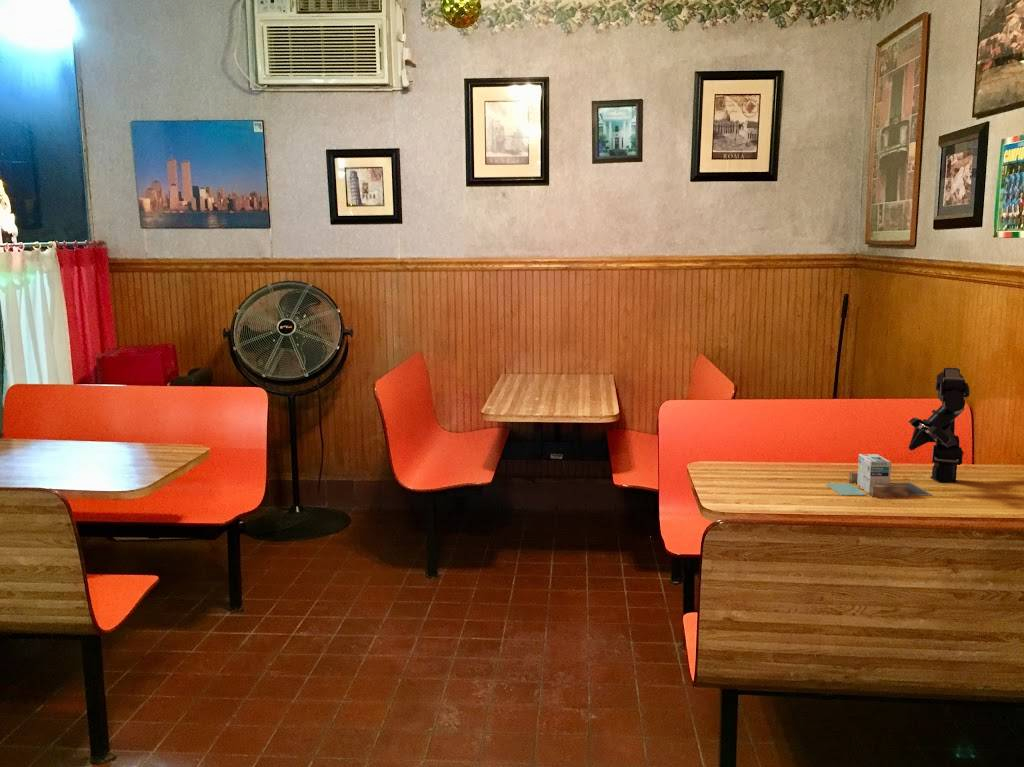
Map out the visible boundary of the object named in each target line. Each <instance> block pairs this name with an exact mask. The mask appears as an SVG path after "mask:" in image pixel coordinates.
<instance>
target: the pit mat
mask: <svg viewBox="0 0 1024 767" xmlns="http://www.w3.org/2000/svg"><path fill="white" fill-rule="evenodd" d="M890 485H906V486H908V494H907V496H933V493H930V492H929V491H926V490H925V489H923V488H921V487H919V486H918V485H916V484H914V483H912V482H890Z"/></svg>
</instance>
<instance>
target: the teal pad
mask: <svg viewBox="0 0 1024 767" xmlns="http://www.w3.org/2000/svg"><path fill="white" fill-rule="evenodd" d="M825 484H826V486H827V485H828V486H829V487H828V486H827V487H828V488H830V489H831V488H832V490H833V491H834V492H835V491H836V492H835V493H837V494H838V495H840V496H842V497H844V495H847V496H848V495H856V496H867V493H865V492H863V491H861V490H860V489H859V488H857V487H855V486H854V485H853V484H851V483H849V482H847V483H846V482H845V483H843V482H842V483H839V482H838V483H830V482H829V483H825Z"/></svg>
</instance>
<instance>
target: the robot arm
mask: <svg viewBox="0 0 1024 767" xmlns="http://www.w3.org/2000/svg"><path fill="white" fill-rule="evenodd" d="M935 391H937V393H936V394H937V396H936V397H937V398H938V400H939V401H940V402H941V405H940V406H939V407H938V408H937V409H936V410H935V409H933V410H931V413H932V414H931V415H930V416H929V417H928V418H927V419H926V418H924V419H921V418H918V417H912V418H910V420H909V421H908V423H909V424H910V426H912V427H913V433H912V436H911V440H910V443H909V445H908V450H910V451H914V450H916V449H918V448H919V447H922V446H923V445H925V444H928V443H935V444H933V446H932V454H931V463H932V464H933V465H932V468H931V469H932V470H931V475H930V479H932V480H934V481H936V482H938V483H945V484H946V483H949V484H950V483H959V482H960V481H959V480H957V473H958V472H957V470H958V466H961V465H963V459H964V451H963V448H962V447H961V446H960V437H959V435H956V434H955V428H956V427H955V425H956V421H955V420H956V419H957V418H958V417H959V415H961V414H962V413H963V412H964V410H965V406H966V399H968V397H970V386H969V384H968V382H966V379H965V378H964V376H963V375H962V374H961V369H960V368H959V367H958V368H957V367H943V369H942V371H941V372H940V373H938V374H937V375H936V379H935Z"/></svg>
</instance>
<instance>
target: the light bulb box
mask: <svg viewBox="0 0 1024 767" xmlns="http://www.w3.org/2000/svg"><path fill="white" fill-rule="evenodd" d="M891 469H892V461H890V460H889V459H886V458H885V457H883V456H881V455H880V454H878V453H877V454H873V453H871V454H870V453H859V454H858V465H857V472H858V478H857V484H856V485H857V486H858V487H859V486H860V487H859V488H861V489H862V490H863V489H864V491H865V492H866V493H867V492H868V493H867V494H869V495H870V487H871V485H890V483H891V471H892V470H891Z"/></svg>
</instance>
